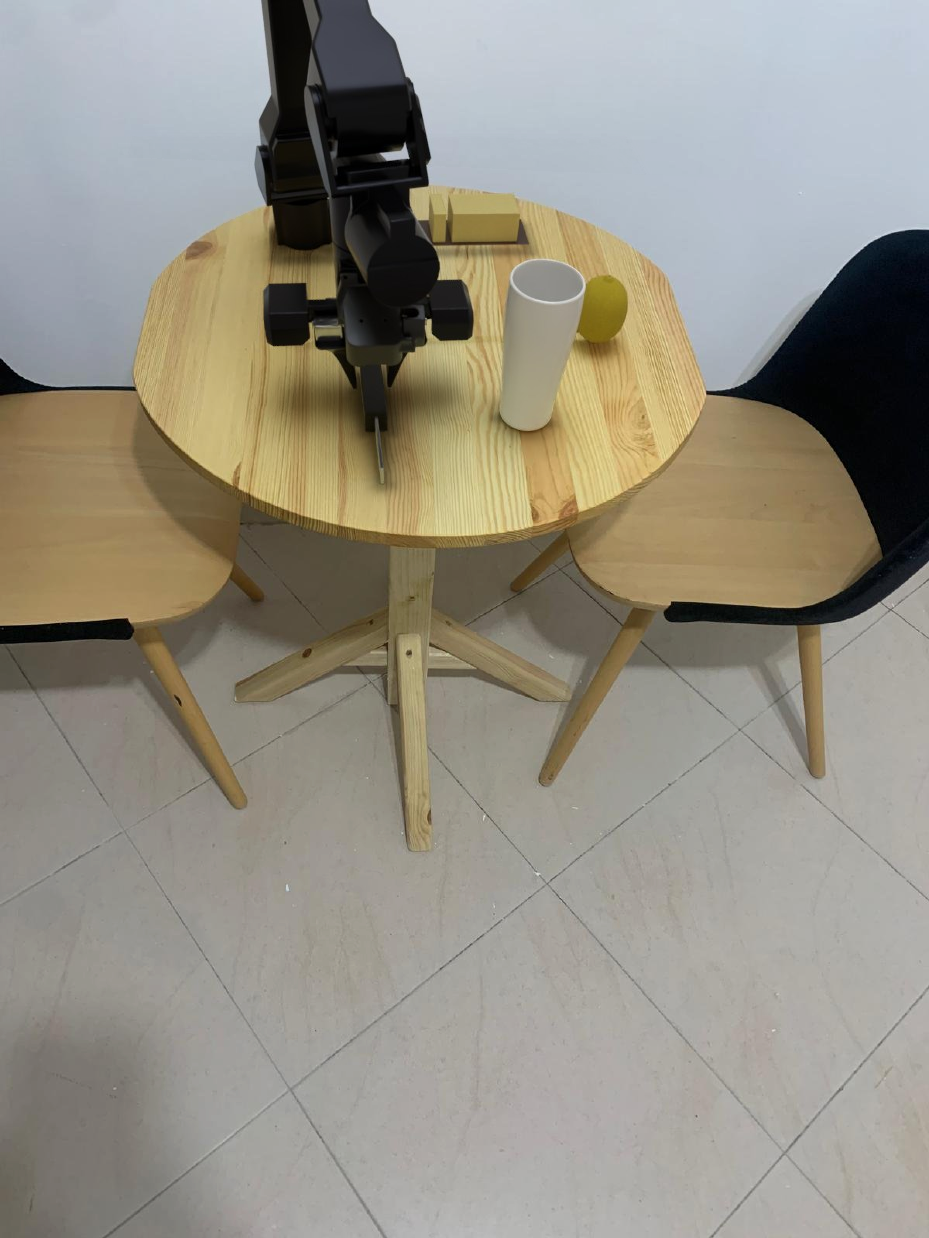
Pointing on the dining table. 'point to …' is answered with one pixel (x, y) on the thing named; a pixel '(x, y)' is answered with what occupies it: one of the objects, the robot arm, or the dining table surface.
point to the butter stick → (483, 217)
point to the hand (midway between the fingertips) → (371, 385)
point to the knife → (374, 405)
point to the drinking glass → (537, 338)
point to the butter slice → (437, 218)
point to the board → (520, 241)
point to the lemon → (603, 309)
